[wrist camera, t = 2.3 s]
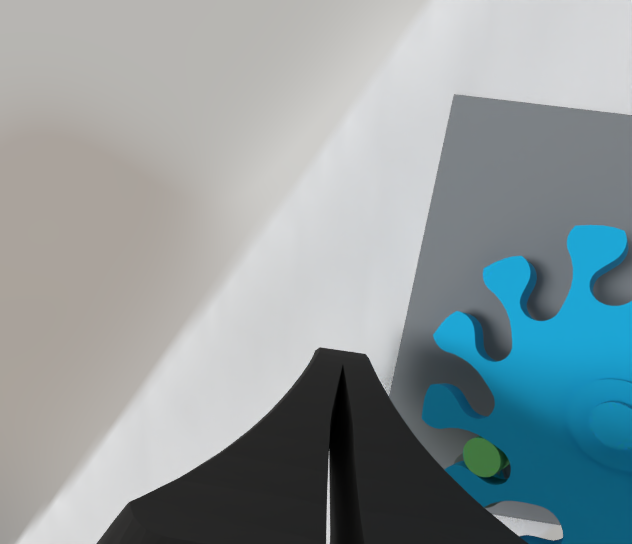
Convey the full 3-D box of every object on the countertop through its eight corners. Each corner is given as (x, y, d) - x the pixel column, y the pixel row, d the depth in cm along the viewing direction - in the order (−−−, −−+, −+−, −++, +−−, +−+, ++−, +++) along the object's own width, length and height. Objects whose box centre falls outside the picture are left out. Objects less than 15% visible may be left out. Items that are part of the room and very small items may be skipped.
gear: (675, 126, 10) (1354, 661, 5) (669, 203, 14) (1018, 520, 9) (339, 359, 14) (508, 746, 10) (414, 361, 19) (556, 625, 14)
